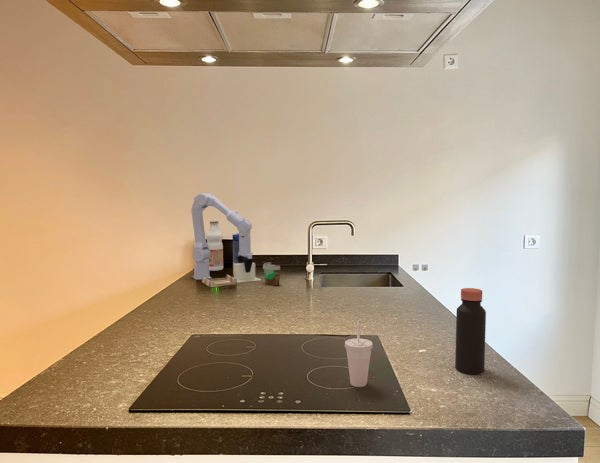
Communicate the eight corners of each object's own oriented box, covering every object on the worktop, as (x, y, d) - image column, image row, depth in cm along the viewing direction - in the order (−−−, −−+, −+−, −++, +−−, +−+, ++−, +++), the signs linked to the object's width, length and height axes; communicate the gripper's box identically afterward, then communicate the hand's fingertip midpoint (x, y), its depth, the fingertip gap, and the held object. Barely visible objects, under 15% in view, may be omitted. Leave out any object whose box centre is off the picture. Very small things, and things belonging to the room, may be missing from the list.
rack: (201, 282, 225) (201, 276, 225) (227, 280, 231) (227, 274, 231) (209, 287, 213) (209, 281, 212) (236, 285, 219) (236, 279, 218)
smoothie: (369, 377, 108) (370, 319, 107) (375, 389, 102) (375, 327, 101) (342, 378, 108) (343, 320, 107) (346, 389, 102) (346, 328, 101)
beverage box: (250, 272, 253) (249, 233, 251) (245, 276, 242) (245, 235, 240) (238, 272, 254) (237, 233, 252) (233, 276, 243) (232, 235, 241)
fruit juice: (220, 270, 260) (220, 221, 257) (204, 270, 260) (203, 221, 258) (225, 268, 269) (224, 220, 267) (209, 268, 270) (208, 220, 267)
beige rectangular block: (233, 279, 231) (233, 263, 230) (252, 277, 236) (252, 262, 235) (236, 280, 228) (236, 264, 227) (255, 278, 232) (255, 263, 232)
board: (229, 279, 235) (228, 278, 235) (252, 276, 241) (252, 275, 241) (237, 283, 223) (237, 282, 223) (262, 280, 229) (262, 279, 229)
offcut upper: (213, 285, 218) (213, 282, 218) (228, 283, 222) (228, 280, 222) (216, 286, 215) (216, 284, 215) (232, 284, 219) (232, 282, 219)
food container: (259, 283, 224) (259, 262, 223) (270, 281, 226) (270, 262, 226) (268, 287, 213) (268, 266, 212) (280, 286, 215) (280, 265, 214)
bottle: (450, 369, 113) (451, 290, 111) (462, 362, 118) (464, 286, 116) (476, 377, 108) (479, 294, 107) (488, 369, 113) (491, 289, 111)
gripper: (257, 245, 226) (258, 272, 227) (247, 242, 239) (247, 268, 240) (244, 246, 223) (244, 273, 224) (234, 243, 235) (234, 269, 237)
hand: (245, 271), depth 232 cm, fingers open, 7 cm apart
